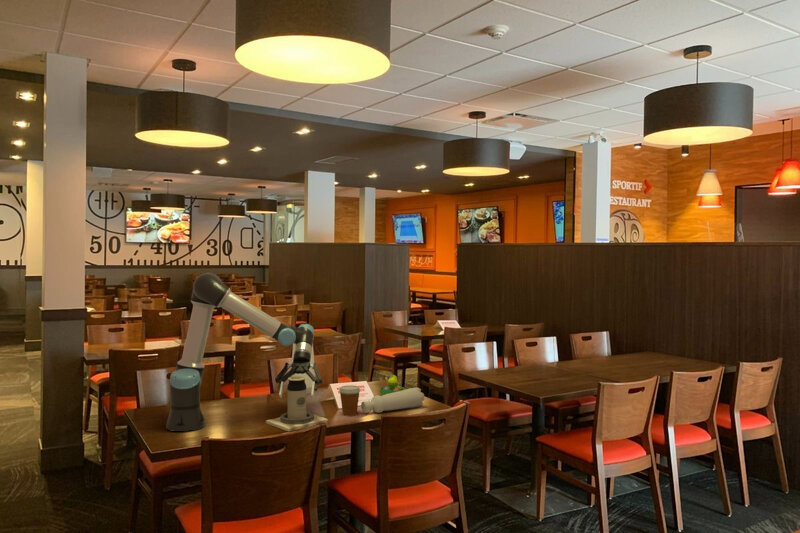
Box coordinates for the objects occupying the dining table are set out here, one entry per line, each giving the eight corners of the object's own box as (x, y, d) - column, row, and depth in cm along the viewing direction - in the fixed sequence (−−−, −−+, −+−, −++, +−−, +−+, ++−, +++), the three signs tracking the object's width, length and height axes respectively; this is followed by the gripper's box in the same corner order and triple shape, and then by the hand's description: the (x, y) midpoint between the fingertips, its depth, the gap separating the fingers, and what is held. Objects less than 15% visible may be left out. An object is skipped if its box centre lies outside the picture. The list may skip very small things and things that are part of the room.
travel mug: (285, 418, 264) (285, 376, 263) (303, 416, 267) (303, 375, 267) (290, 423, 257) (289, 380, 256) (308, 421, 260) (308, 378, 259)
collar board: (288, 431, 249) (288, 424, 249) (266, 423, 261) (265, 416, 261) (328, 422, 263) (327, 415, 263) (304, 414, 275) (304, 407, 275)
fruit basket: (379, 399, 302) (378, 377, 302) (383, 395, 311) (383, 373, 310) (401, 401, 300) (401, 378, 299) (405, 396, 308) (405, 374, 308)
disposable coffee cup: (352, 417, 269) (351, 390, 269) (334, 414, 274) (334, 388, 274) (364, 413, 277) (364, 386, 277) (347, 410, 282) (347, 384, 282)
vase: (285, 393, 315) (285, 339, 314) (299, 388, 327) (298, 336, 326) (307, 396, 310) (307, 340, 309) (320, 390, 322) (320, 337, 321)
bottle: (413, 396, 295) (357, 406, 280) (418, 382, 290) (361, 392, 275) (422, 410, 289) (365, 421, 274) (427, 396, 284) (369, 407, 269)
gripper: (331, 360, 277) (326, 401, 262) (276, 359, 277) (268, 400, 263) (329, 350, 272) (324, 391, 257) (273, 350, 272) (265, 391, 257)
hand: (296, 396), depth 260 cm, fingers open, 13 cm apart
